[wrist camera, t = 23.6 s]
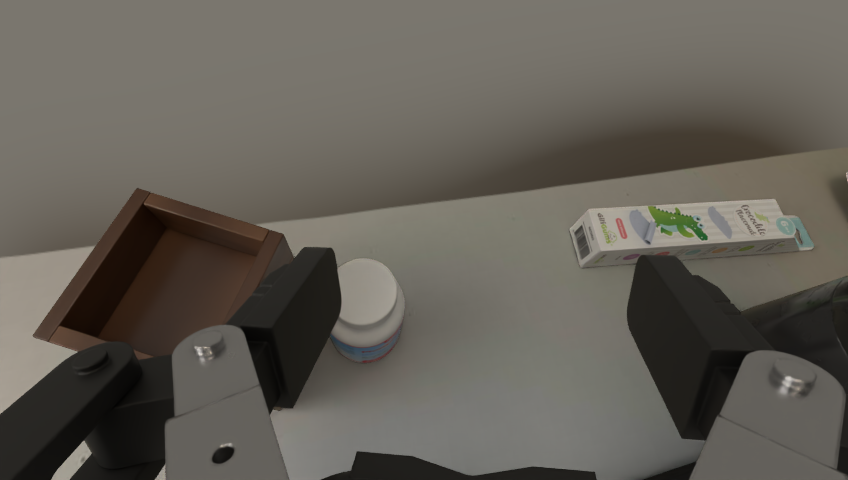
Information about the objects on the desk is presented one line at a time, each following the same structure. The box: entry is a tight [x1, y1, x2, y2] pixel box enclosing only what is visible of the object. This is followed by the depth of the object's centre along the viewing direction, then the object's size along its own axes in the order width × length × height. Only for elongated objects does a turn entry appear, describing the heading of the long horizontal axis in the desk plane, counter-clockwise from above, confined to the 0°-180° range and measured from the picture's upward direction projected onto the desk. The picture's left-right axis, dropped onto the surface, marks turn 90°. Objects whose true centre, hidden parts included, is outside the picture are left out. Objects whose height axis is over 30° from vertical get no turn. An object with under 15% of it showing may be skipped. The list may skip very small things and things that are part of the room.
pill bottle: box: [330, 258, 405, 363], centre depth 33 cm, size 6×6×11 cm
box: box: [570, 199, 815, 268], centre depth 44 cm, size 4×4×28 cm
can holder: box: [33, 188, 294, 411], centre depth 29 cm, size 8×8×17 cm
